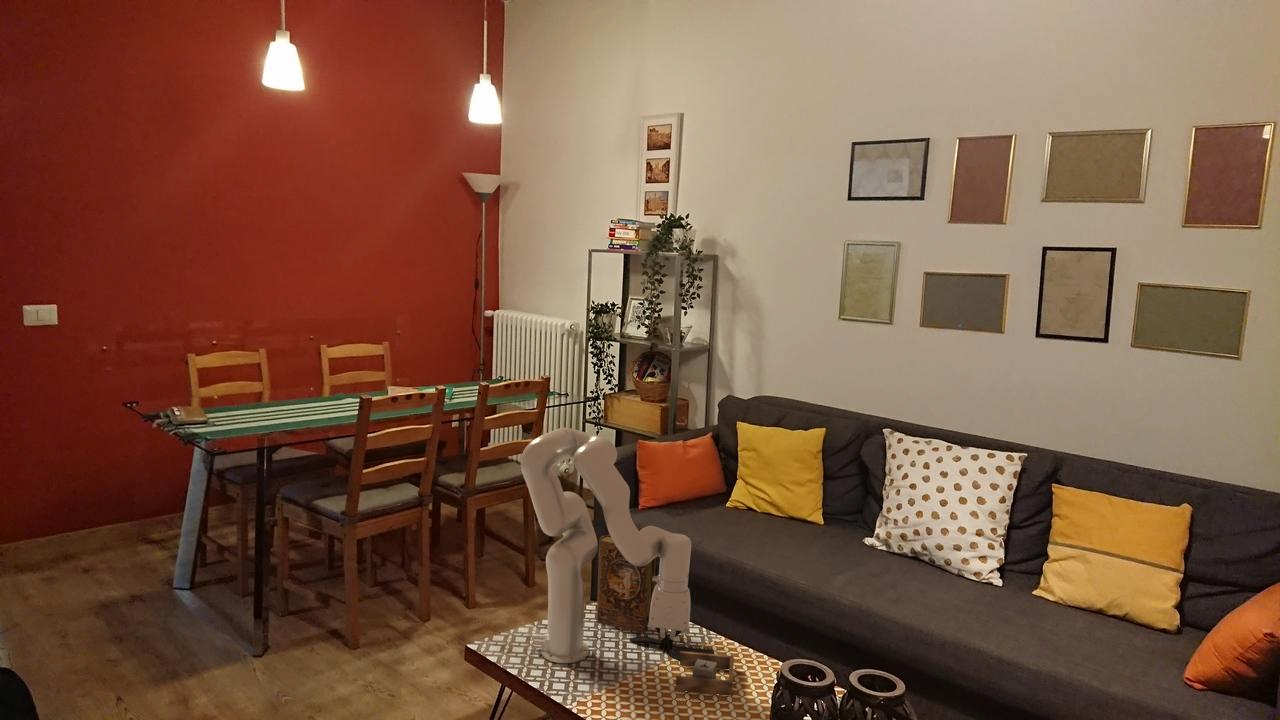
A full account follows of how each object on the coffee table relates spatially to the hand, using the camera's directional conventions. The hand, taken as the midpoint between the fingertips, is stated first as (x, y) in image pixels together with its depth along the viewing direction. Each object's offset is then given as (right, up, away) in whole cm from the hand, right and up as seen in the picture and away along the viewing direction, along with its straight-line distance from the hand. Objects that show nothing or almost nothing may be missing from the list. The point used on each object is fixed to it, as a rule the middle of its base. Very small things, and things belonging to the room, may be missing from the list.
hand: (666, 650), depth 212 cm
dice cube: (+9, -8, -3) cm, 12 cm away
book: (-11, -3, +29) cm, 31 cm away
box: (+10, -7, -1) cm, 12 cm away
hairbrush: (+2, -6, +14) cm, 15 cm away
